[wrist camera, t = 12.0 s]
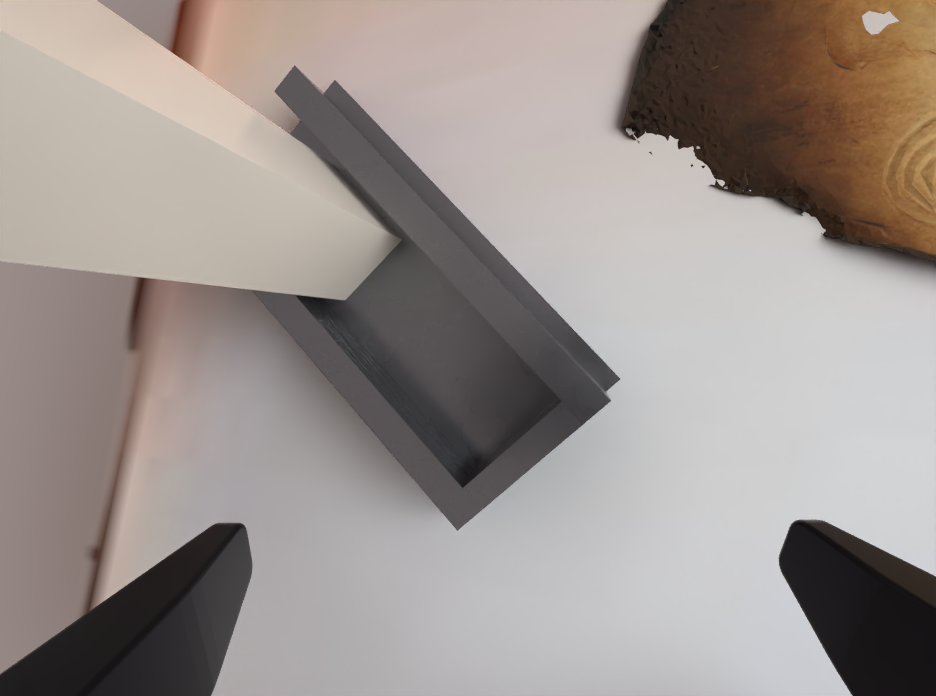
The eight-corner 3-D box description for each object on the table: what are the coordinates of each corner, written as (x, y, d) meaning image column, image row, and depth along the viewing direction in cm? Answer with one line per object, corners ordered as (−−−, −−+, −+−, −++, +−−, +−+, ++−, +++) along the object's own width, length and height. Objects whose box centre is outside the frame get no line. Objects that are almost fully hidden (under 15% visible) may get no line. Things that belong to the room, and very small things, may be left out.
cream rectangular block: (402, 239, 18) (-150, -49, 4) (345, 300, 18) (-291, 228, 5) (331, 163, 18) (-372, -323, 5) (278, 224, 19) (-472, -38, 5)
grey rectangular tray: (617, 376, 17) (627, 386, 14) (462, 508, 19) (443, 541, 16) (346, 92, 19) (306, 50, 16) (227, 235, 21) (171, 220, 18)
